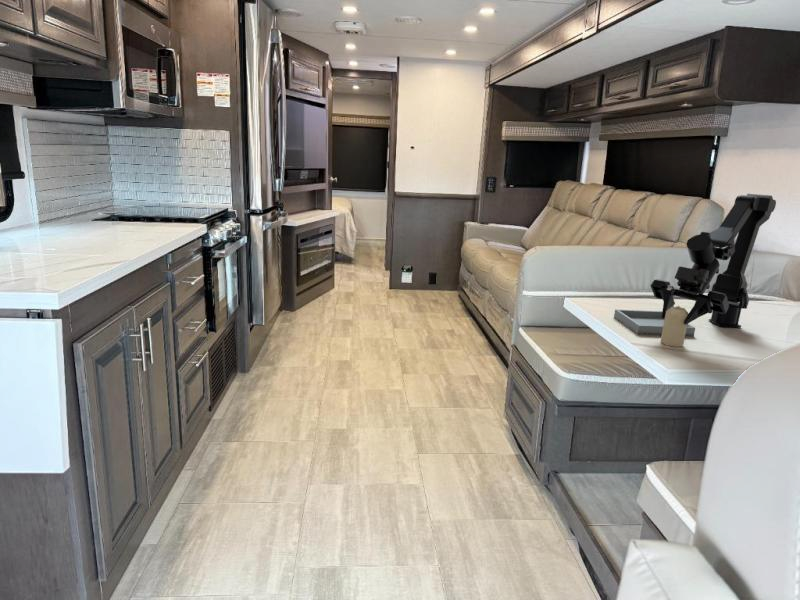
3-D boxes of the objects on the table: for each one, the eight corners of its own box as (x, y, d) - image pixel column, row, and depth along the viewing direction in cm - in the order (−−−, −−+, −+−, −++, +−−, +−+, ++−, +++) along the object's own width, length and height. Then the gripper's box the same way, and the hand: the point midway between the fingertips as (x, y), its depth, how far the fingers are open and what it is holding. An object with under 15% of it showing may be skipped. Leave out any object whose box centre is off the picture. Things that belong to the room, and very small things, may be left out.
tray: (664, 319, 169) (666, 311, 168) (693, 336, 153) (695, 327, 153) (613, 317, 168) (615, 309, 167) (637, 334, 153) (639, 325, 152)
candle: (659, 344, 145) (666, 307, 142) (661, 338, 150) (667, 303, 147) (682, 348, 143) (690, 311, 140) (683, 342, 147) (690, 306, 145)
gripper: (660, 249, 149) (632, 293, 146) (733, 262, 136) (705, 311, 132) (668, 275, 156) (642, 318, 152) (739, 289, 142) (713, 337, 139)
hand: (673, 320), depth 144 cm, fingers closed on candle, 5 cm apart
